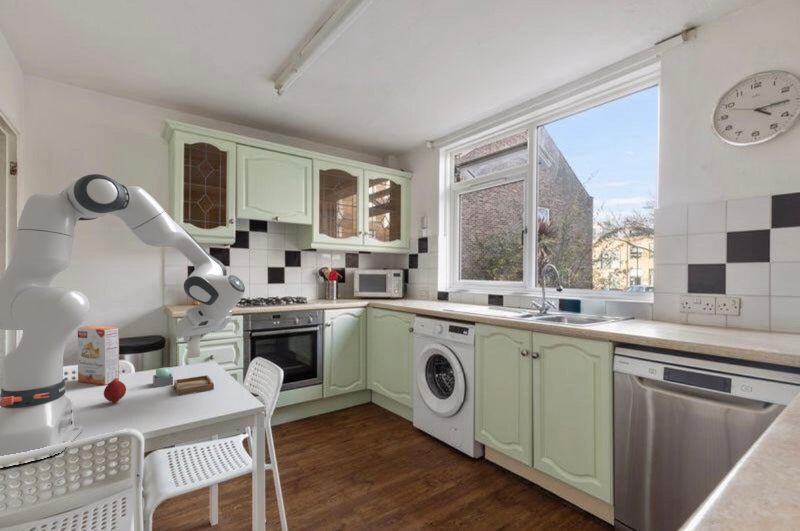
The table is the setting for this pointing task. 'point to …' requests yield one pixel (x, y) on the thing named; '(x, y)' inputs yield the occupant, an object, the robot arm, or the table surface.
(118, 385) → the onion
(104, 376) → the cracker box
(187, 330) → the robot arm
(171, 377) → the button housing
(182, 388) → the tray
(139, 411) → the table surface
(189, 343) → the white bottle
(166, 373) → the button
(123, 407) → the table surface
